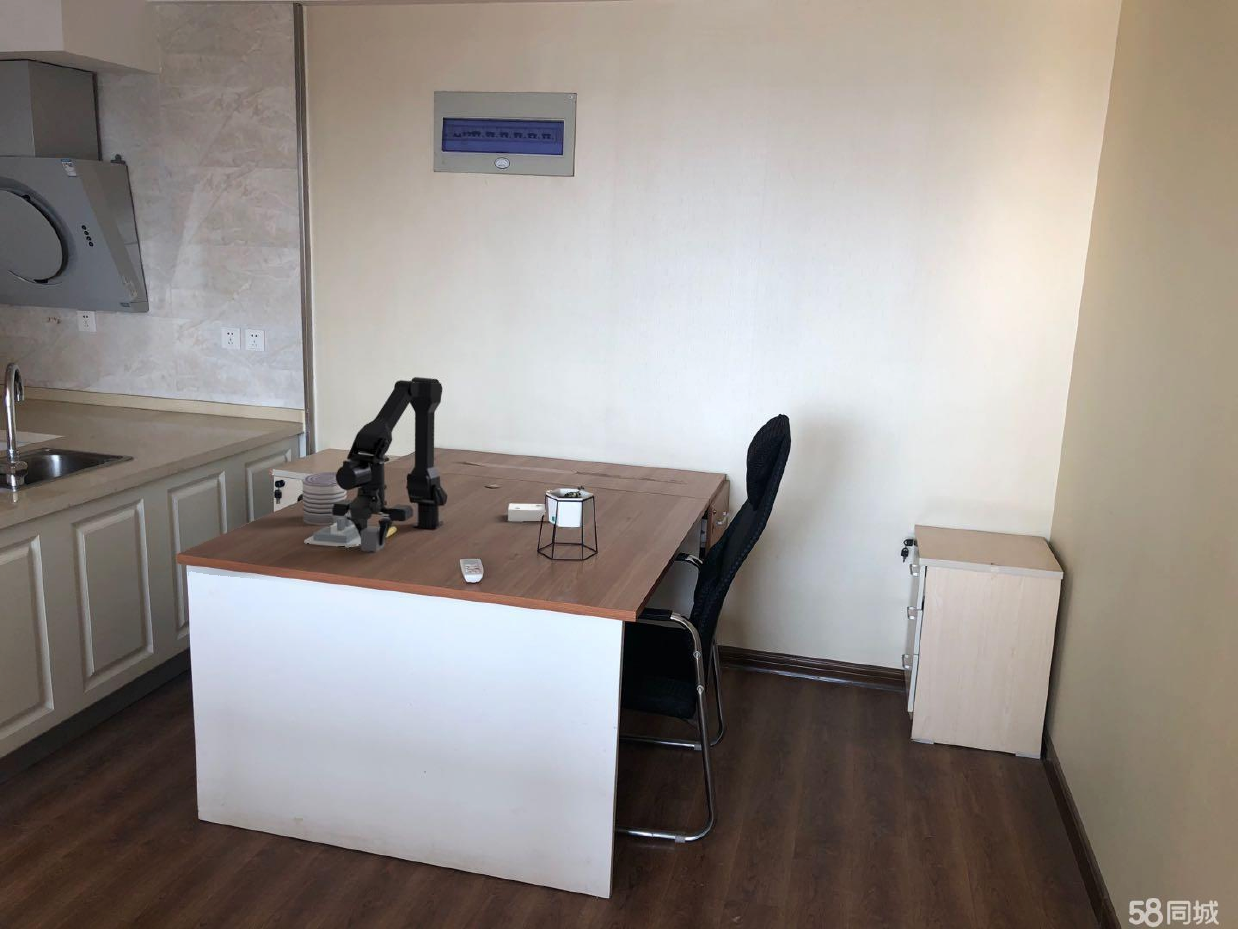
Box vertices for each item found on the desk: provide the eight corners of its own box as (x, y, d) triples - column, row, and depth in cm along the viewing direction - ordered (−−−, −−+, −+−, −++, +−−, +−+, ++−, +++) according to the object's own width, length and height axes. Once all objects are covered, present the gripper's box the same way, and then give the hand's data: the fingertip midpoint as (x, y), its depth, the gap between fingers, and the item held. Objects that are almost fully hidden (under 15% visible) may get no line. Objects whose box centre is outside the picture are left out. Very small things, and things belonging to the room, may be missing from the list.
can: (356, 519, 266) (355, 476, 263) (322, 527, 256) (321, 483, 254) (327, 512, 272) (326, 470, 270) (293, 520, 263) (292, 476, 260)
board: (335, 526, 258) (335, 512, 258) (382, 530, 256) (382, 516, 256) (304, 543, 242) (304, 528, 241) (353, 548, 240) (353, 533, 239)
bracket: (555, 516, 279) (556, 490, 277) (555, 523, 272) (556, 496, 270) (509, 515, 278) (509, 489, 276) (508, 522, 271) (508, 495, 269)
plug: (387, 534, 253) (387, 515, 252) (401, 535, 253) (401, 516, 252) (360, 550, 238) (360, 530, 237) (376, 552, 237) (376, 532, 236)
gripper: (320, 486, 231) (321, 550, 234) (395, 492, 227) (396, 557, 231) (341, 476, 241) (342, 537, 244) (413, 482, 238) (414, 544, 241)
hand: (373, 544), depth 240 cm, fingers closed on plug, 4 cm apart
